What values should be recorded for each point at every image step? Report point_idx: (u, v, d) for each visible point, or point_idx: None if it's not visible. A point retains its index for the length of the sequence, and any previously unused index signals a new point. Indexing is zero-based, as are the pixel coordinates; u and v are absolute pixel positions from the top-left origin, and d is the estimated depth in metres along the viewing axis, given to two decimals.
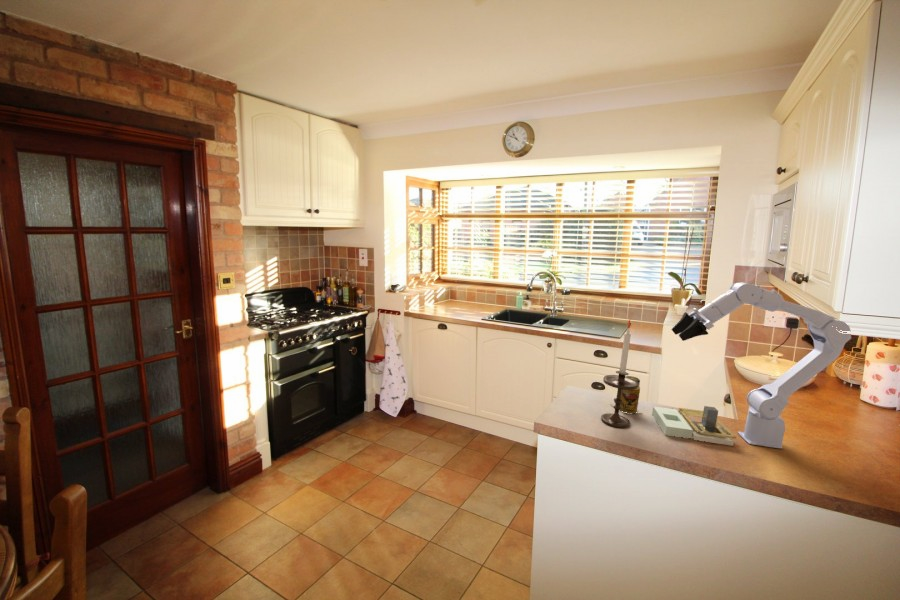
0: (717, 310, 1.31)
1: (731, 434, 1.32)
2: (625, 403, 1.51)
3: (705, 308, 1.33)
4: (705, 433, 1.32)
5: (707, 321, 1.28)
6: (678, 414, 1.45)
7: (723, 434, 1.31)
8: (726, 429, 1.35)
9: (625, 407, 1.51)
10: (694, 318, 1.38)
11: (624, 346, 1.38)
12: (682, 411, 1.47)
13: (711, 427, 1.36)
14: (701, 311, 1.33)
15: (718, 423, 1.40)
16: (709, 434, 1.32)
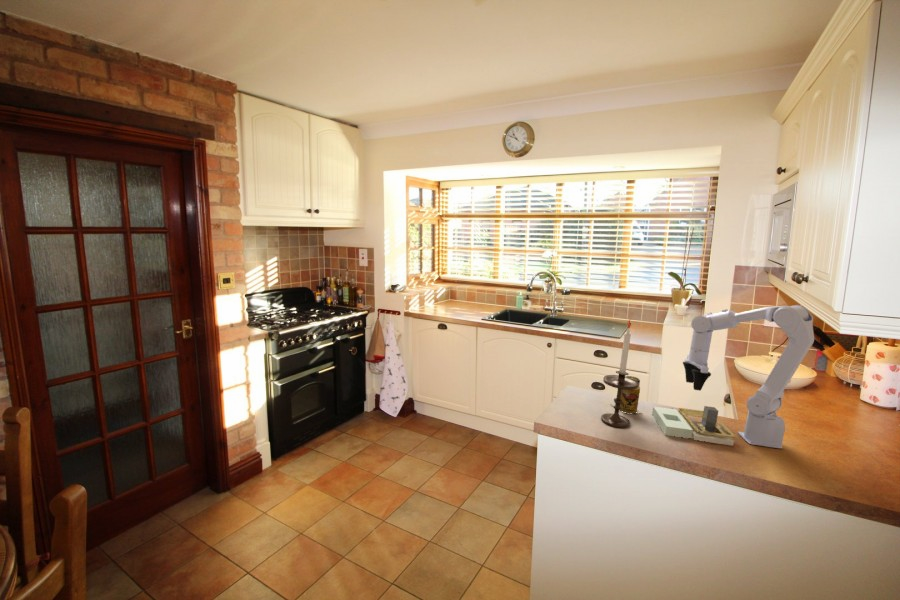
0: (700, 351, 1.47)
1: (731, 434, 1.32)
2: (625, 403, 1.51)
3: (691, 355, 1.50)
4: (705, 433, 1.32)
5: (701, 368, 1.45)
6: (678, 414, 1.45)
7: (723, 434, 1.31)
8: (726, 429, 1.35)
9: (625, 407, 1.51)
10: None
11: (624, 346, 1.38)
12: (682, 411, 1.47)
13: (711, 427, 1.36)
14: (691, 359, 1.50)
15: (718, 423, 1.40)
16: (709, 434, 1.32)
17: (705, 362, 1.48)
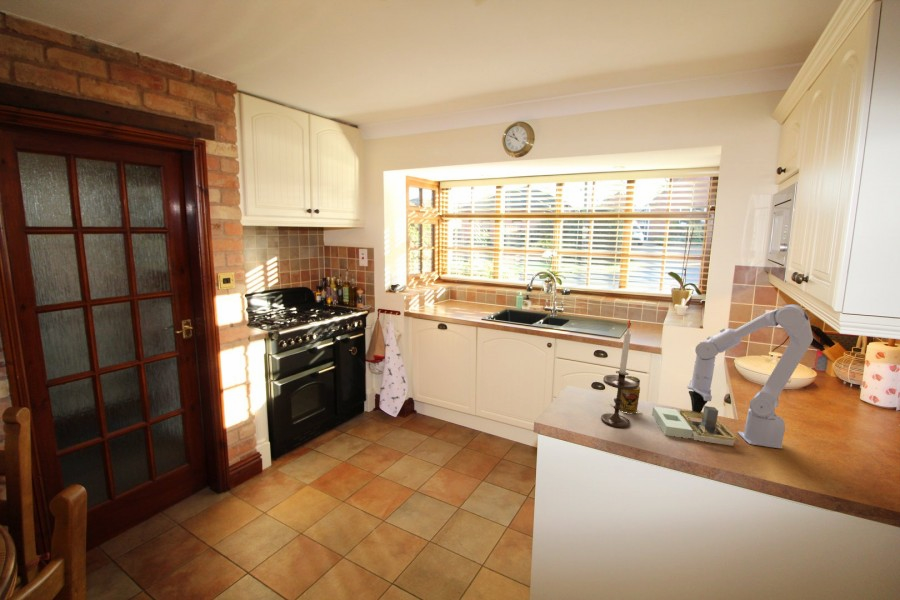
0: (703, 378, 1.43)
1: (733, 436, 1.31)
2: (625, 403, 1.51)
3: (694, 382, 1.45)
4: (707, 435, 1.31)
5: (704, 396, 1.40)
6: (678, 414, 1.45)
7: (725, 436, 1.30)
8: (728, 431, 1.34)
9: (625, 407, 1.51)
10: None
11: (624, 346, 1.38)
12: (683, 413, 1.46)
13: (711, 427, 1.36)
14: (693, 386, 1.46)
15: (720, 425, 1.39)
16: (711, 436, 1.30)
17: (708, 389, 1.44)
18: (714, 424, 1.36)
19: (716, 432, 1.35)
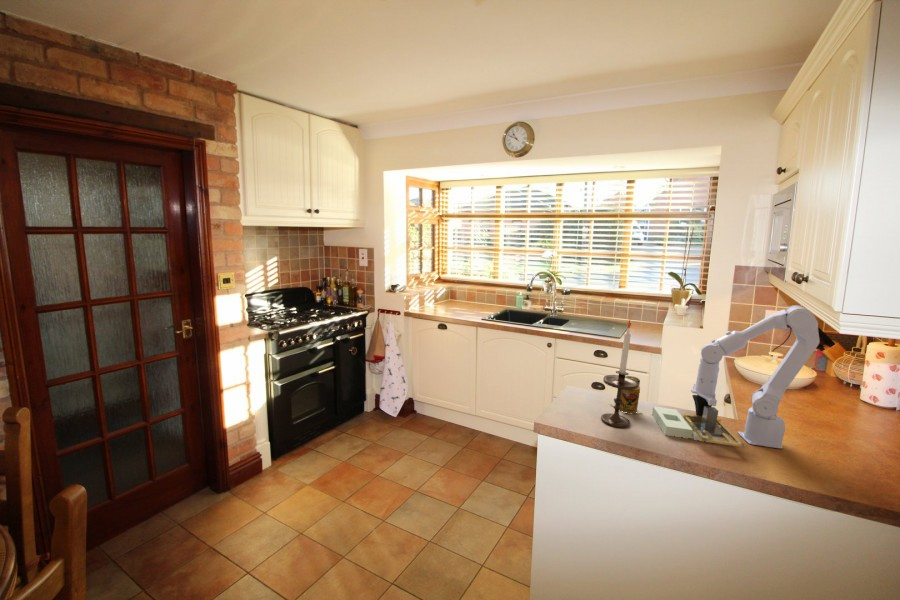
0: (707, 382, 1.39)
1: (739, 442, 1.27)
2: (625, 403, 1.51)
3: (698, 386, 1.42)
4: (712, 441, 1.27)
5: (708, 400, 1.37)
6: (678, 414, 1.45)
7: (730, 442, 1.26)
8: (733, 436, 1.30)
9: (625, 407, 1.51)
10: None
11: (624, 346, 1.38)
12: (687, 417, 1.42)
13: (711, 427, 1.36)
14: (698, 390, 1.42)
15: (725, 430, 1.35)
16: (716, 442, 1.27)
17: (713, 393, 1.40)
18: (714, 424, 1.36)
19: (716, 432, 1.35)
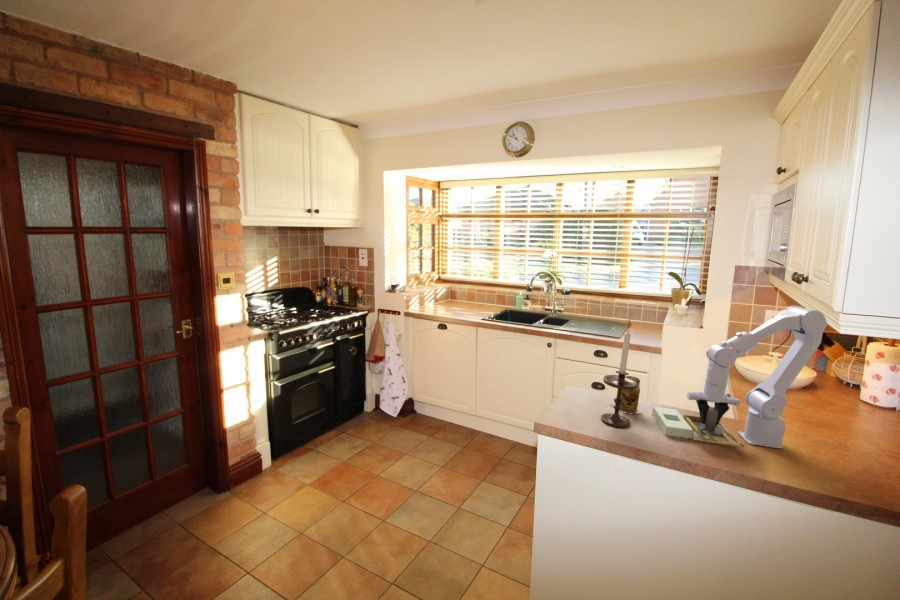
0: (705, 382, 1.36)
1: (739, 442, 1.27)
2: (625, 403, 1.51)
3: None
4: (712, 441, 1.27)
5: None
6: (678, 414, 1.45)
7: (730, 442, 1.26)
8: (733, 437, 1.30)
9: (625, 407, 1.51)
10: (723, 402, 1.36)
11: (624, 346, 1.38)
12: (687, 417, 1.42)
13: (711, 427, 1.36)
14: None
15: (725, 430, 1.35)
16: (716, 442, 1.27)
17: (708, 395, 1.35)
18: (714, 424, 1.36)
19: (716, 432, 1.35)
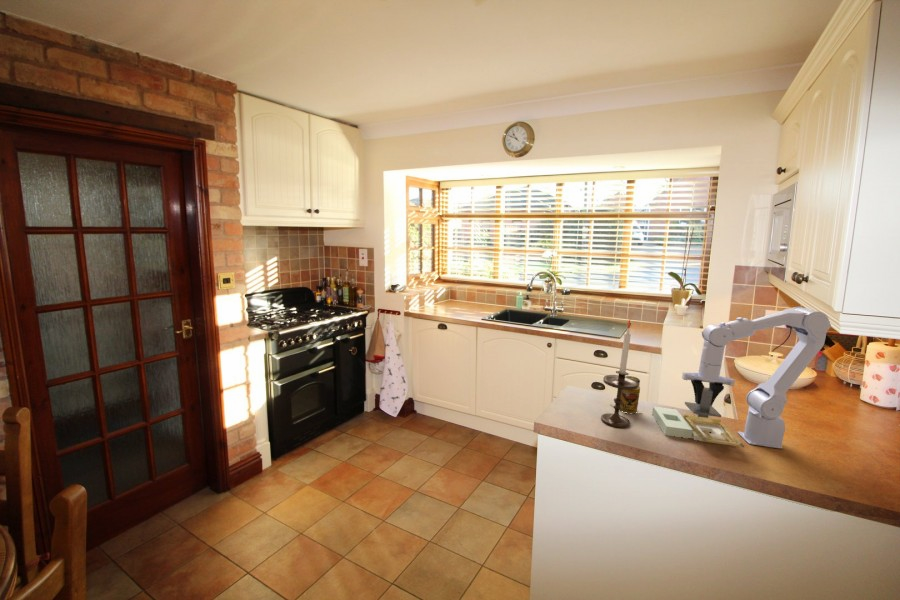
0: (700, 362, 1.36)
1: (739, 442, 1.27)
2: (625, 403, 1.51)
3: None
4: (712, 441, 1.27)
5: None
6: (678, 414, 1.45)
7: (730, 442, 1.26)
8: (733, 437, 1.30)
9: (625, 407, 1.51)
10: None
11: (624, 346, 1.38)
12: (687, 417, 1.42)
13: (706, 407, 1.36)
14: None
15: (725, 430, 1.35)
16: (716, 442, 1.27)
17: (703, 375, 1.34)
18: (709, 404, 1.36)
19: (711, 412, 1.35)
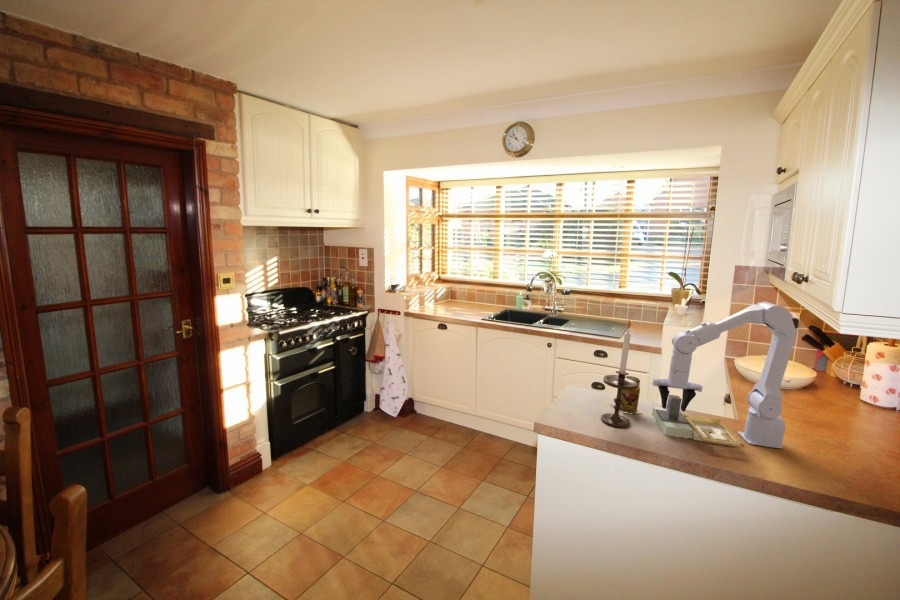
0: None
1: (739, 442, 1.27)
2: (625, 403, 1.51)
3: None
4: (712, 441, 1.27)
5: None
6: None
7: (730, 442, 1.26)
8: (733, 437, 1.30)
9: (625, 407, 1.51)
10: (687, 388, 1.40)
11: (624, 346, 1.38)
12: (687, 417, 1.42)
13: (675, 415, 1.41)
14: None
15: (725, 430, 1.35)
16: (716, 442, 1.27)
17: (672, 382, 1.39)
18: (677, 412, 1.40)
19: (679, 419, 1.39)
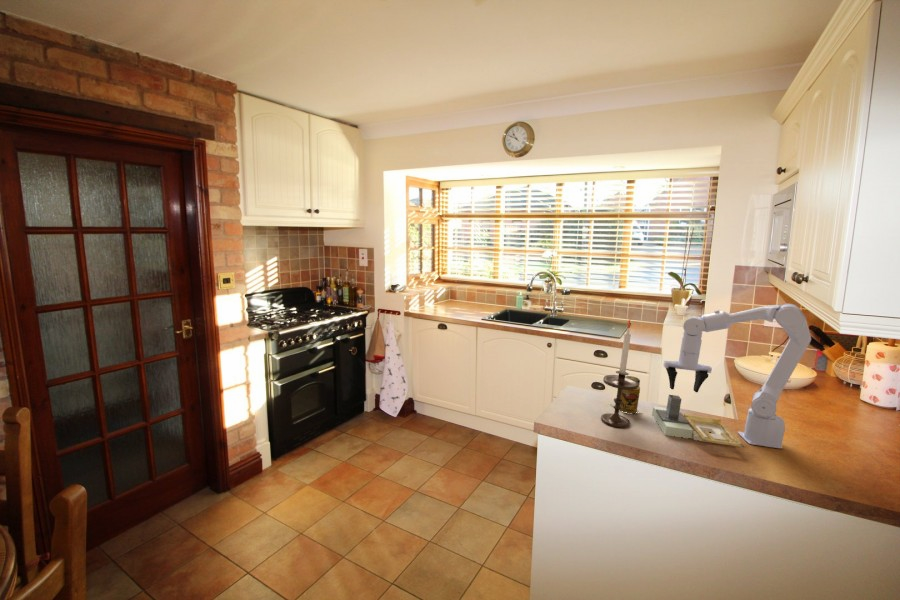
0: (680, 351, 1.47)
1: (739, 442, 1.27)
2: (625, 403, 1.51)
3: None
4: (712, 441, 1.27)
5: None
6: None
7: (730, 442, 1.26)
8: (733, 437, 1.30)
9: (625, 407, 1.51)
10: None
11: (624, 346, 1.38)
12: (687, 417, 1.42)
13: (675, 415, 1.41)
14: None
15: (725, 430, 1.35)
16: (716, 442, 1.27)
17: (682, 363, 1.45)
18: (677, 412, 1.40)
19: (679, 419, 1.39)
